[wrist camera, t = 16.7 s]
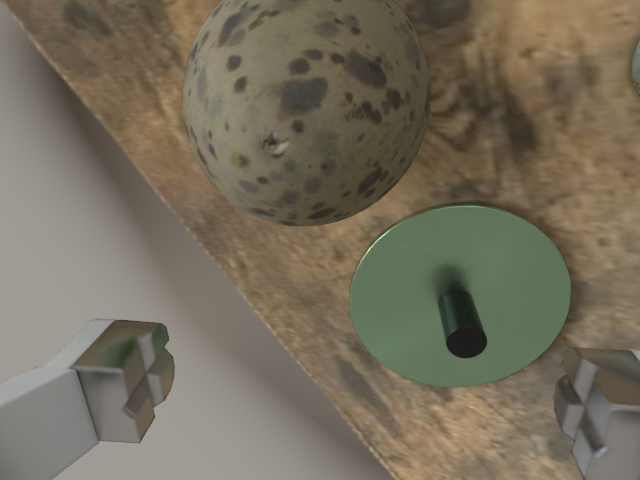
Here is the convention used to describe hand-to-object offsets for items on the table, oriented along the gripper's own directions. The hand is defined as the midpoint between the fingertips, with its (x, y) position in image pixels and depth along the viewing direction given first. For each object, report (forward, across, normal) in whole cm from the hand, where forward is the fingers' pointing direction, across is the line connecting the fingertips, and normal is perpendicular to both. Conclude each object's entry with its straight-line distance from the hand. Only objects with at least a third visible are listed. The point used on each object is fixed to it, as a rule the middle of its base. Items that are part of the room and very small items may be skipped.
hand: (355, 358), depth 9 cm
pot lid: (+20, -6, +11) cm, 24 cm away
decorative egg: (+20, +3, -3) cm, 21 cm away
